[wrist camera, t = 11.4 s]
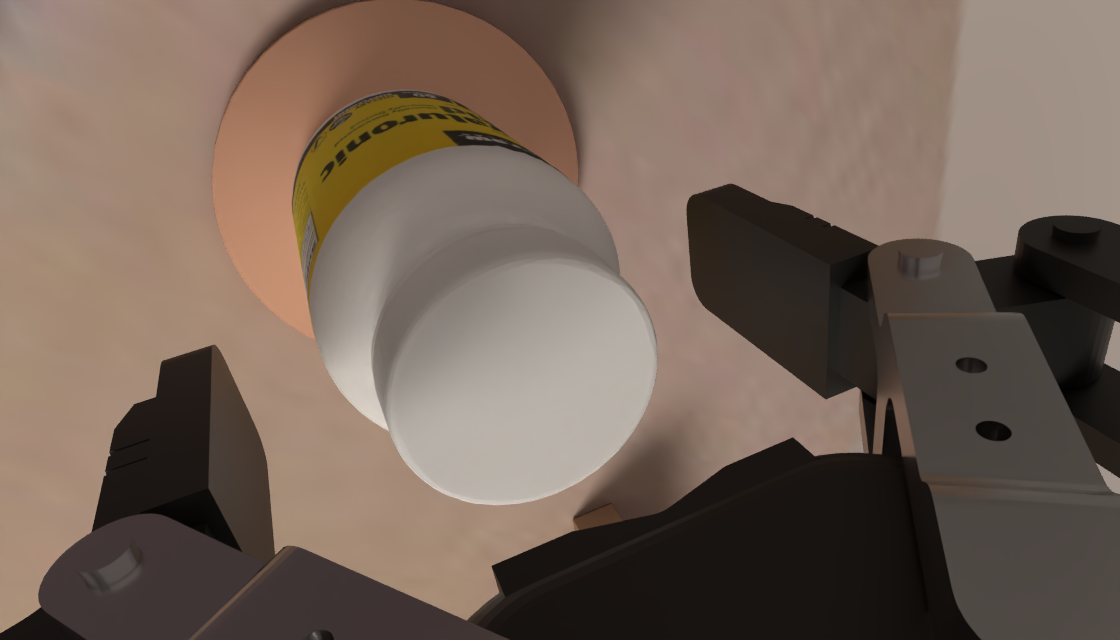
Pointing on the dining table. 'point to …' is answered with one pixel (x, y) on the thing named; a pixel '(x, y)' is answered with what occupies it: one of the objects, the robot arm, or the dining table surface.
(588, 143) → the dining table surface
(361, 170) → the supplement bottle
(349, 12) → the terracotta coaster
